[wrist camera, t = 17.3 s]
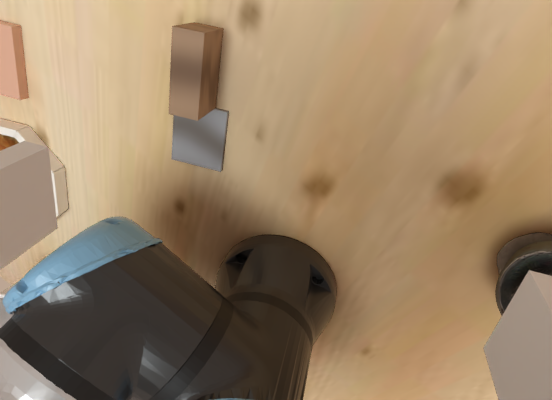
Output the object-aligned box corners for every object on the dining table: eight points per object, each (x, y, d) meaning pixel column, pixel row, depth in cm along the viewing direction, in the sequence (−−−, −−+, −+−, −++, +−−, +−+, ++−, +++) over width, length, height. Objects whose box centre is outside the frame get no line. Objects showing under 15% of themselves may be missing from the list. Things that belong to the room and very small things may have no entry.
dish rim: (71, 235, 57) (61, 243, 55) (-24, 208, 58) (-36, 215, 57) (61, 133, 49) (49, 139, 48) (-47, 106, 51) (-61, 110, 50)
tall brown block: (222, 170, 47) (206, 188, 43) (173, 157, 48) (152, 174, 43) (238, 31, 40) (220, 36, 35) (180, 19, 40) (156, 22, 36)
